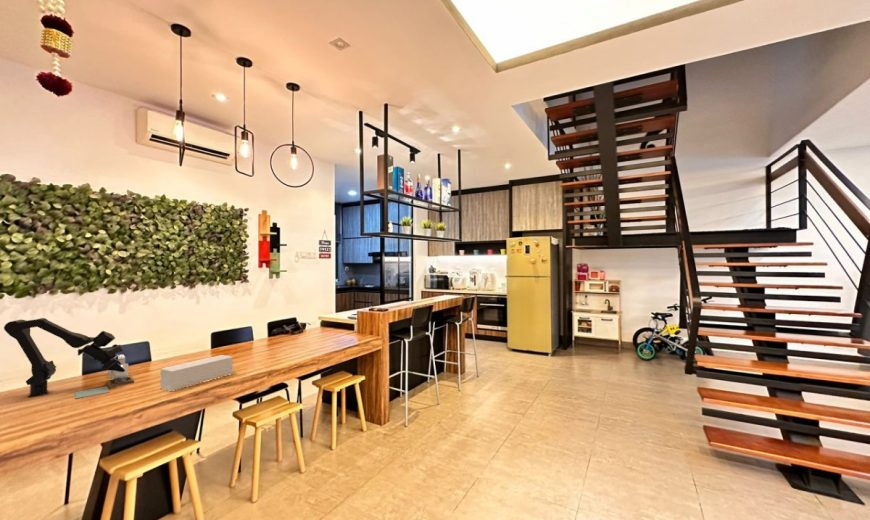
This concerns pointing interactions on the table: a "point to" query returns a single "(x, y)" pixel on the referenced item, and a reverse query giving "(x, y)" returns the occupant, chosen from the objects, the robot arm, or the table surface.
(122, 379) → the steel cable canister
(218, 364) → the long grey concrete block
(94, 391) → the mat
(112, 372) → the grey boxy fixture
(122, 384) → the walnut collar
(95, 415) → the table surface
